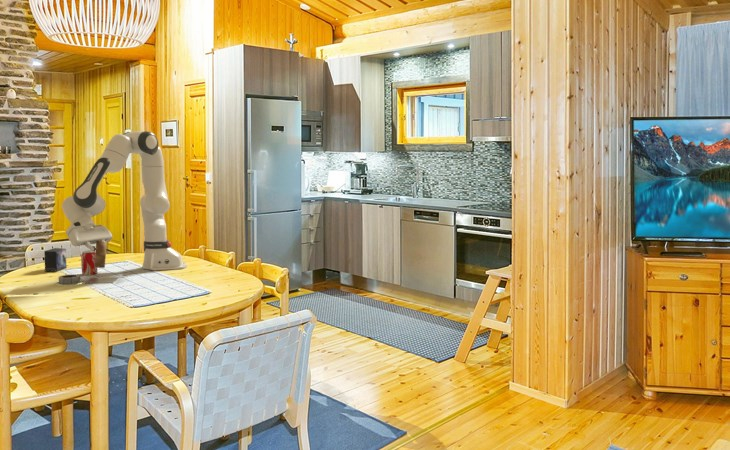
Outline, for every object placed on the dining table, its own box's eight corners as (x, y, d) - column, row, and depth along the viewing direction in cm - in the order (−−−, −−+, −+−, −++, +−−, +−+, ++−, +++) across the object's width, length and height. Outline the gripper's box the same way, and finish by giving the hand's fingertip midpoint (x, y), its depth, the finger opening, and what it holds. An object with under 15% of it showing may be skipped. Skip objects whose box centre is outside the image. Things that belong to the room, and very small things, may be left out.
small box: (57, 271, 316) (56, 251, 315) (44, 271, 316) (43, 251, 315) (67, 268, 327) (66, 248, 326) (55, 267, 327) (54, 247, 326)
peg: (105, 267, 292) (107, 241, 292) (104, 268, 288) (106, 241, 288) (95, 266, 291) (97, 240, 291) (93, 267, 286) (95, 241, 286)
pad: (117, 279, 299) (117, 277, 299) (112, 285, 288) (112, 282, 287) (90, 280, 297) (90, 277, 297) (84, 285, 285) (84, 283, 285)
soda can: (91, 277, 304) (90, 252, 302) (78, 276, 305) (77, 252, 304) (100, 274, 311) (99, 250, 309) (87, 273, 312) (86, 249, 311)
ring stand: (87, 281, 294) (86, 273, 293) (80, 287, 282) (80, 278, 282) (59, 282, 291) (58, 274, 291) (51, 288, 280) (51, 279, 279)
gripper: (100, 228, 304) (114, 251, 300) (62, 233, 286) (77, 256, 282) (106, 220, 301) (121, 242, 298) (68, 224, 283) (83, 248, 280)
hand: (99, 249), depth 290 cm, fingers closed on peg, 4 cm apart
